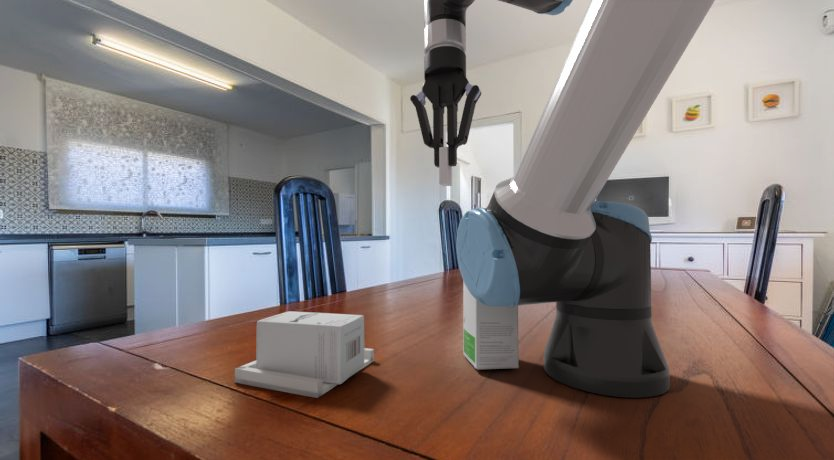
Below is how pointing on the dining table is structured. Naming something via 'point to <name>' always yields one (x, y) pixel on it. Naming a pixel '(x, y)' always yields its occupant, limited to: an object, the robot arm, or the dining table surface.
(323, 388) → the grey tray
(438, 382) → the dining table surface
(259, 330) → the supplement box
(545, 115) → the robot arm
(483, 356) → the skincare box
